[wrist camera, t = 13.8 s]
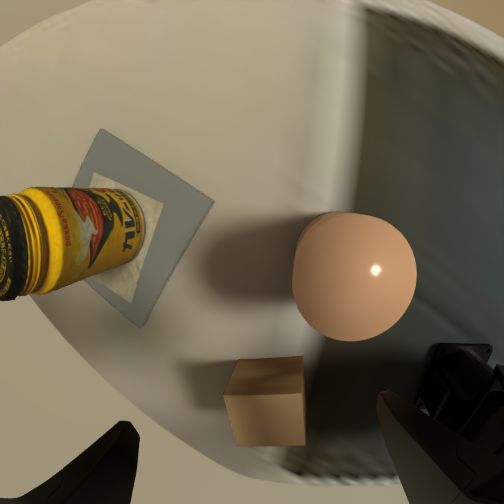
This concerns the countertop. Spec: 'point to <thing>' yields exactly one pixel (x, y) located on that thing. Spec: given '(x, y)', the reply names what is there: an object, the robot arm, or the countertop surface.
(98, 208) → the condiment
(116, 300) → the slate mat
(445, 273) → the countertop surface
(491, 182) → the countertop surface
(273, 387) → the walnut block
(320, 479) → the countertop surface
